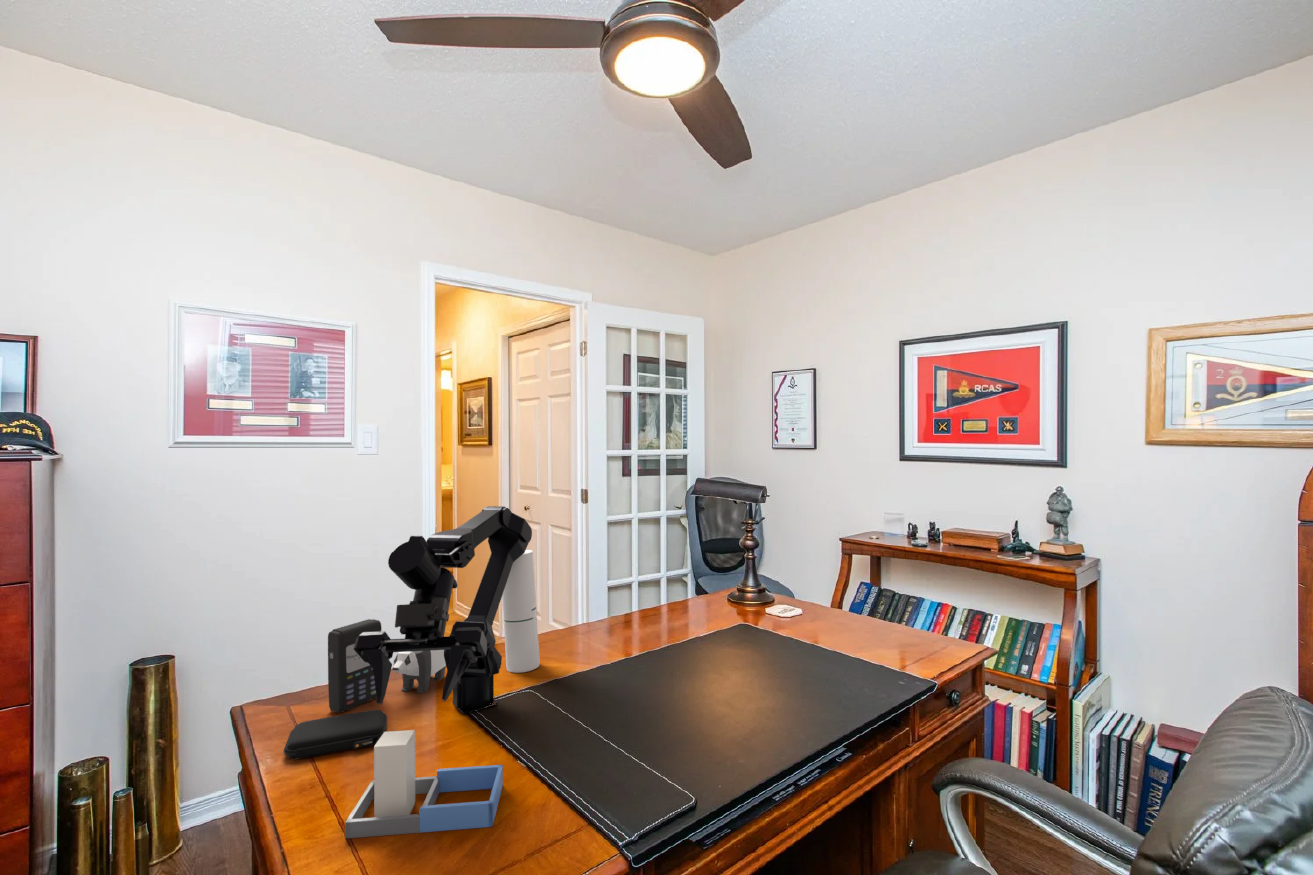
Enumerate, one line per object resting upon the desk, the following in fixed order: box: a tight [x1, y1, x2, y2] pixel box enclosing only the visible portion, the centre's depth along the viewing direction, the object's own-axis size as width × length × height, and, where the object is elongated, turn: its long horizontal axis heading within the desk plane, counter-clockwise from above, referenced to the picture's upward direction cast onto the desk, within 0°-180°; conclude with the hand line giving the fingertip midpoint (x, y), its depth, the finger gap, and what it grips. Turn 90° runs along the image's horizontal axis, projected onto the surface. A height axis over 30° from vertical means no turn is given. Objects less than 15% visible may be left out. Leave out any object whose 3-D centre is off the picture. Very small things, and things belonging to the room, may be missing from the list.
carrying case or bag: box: [283, 709, 388, 760], centre depth 99 cm, size 11×3×15 cm
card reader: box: [327, 618, 382, 714], centre depth 113 cm, size 9×4×15 cm, turn 151°
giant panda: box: [391, 650, 447, 694], centre depth 120 cm, size 15×6×10 cm, turn 168°
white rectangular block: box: [373, 729, 416, 817], centre depth 79 cm, size 4×4×10 cm
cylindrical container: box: [501, 549, 541, 673], centre depth 131 cm, size 7×7×25 cm
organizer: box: [344, 764, 504, 839], centre depth 80 cm, size 18×9×3 cm, turn 97°
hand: (411, 701), depth 87 cm, fingers open, 9 cm apart
